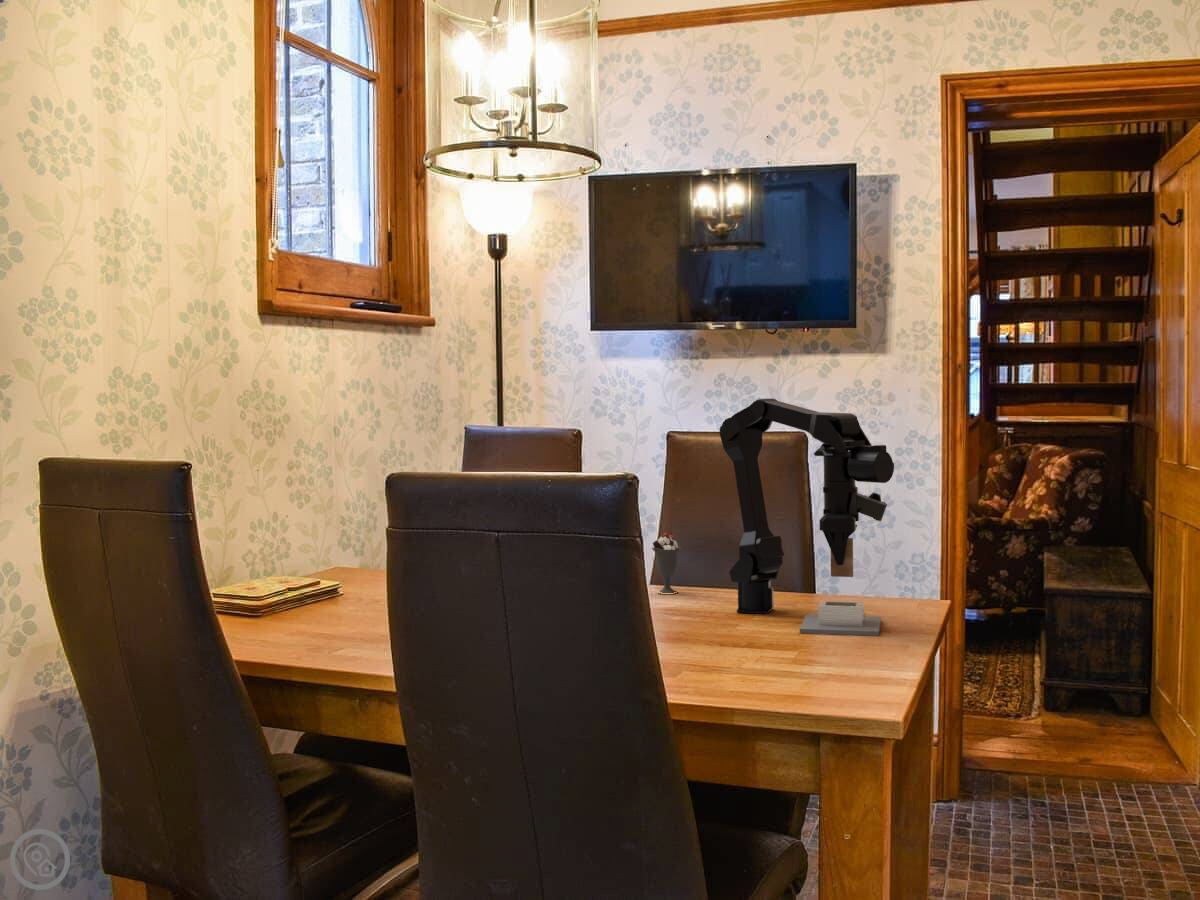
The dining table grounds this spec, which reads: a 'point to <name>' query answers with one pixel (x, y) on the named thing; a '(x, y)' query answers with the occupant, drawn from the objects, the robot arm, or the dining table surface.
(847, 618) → the white hollow frame
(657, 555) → the sundae
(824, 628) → the slate board
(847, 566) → the wooden block
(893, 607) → the dining table surface
